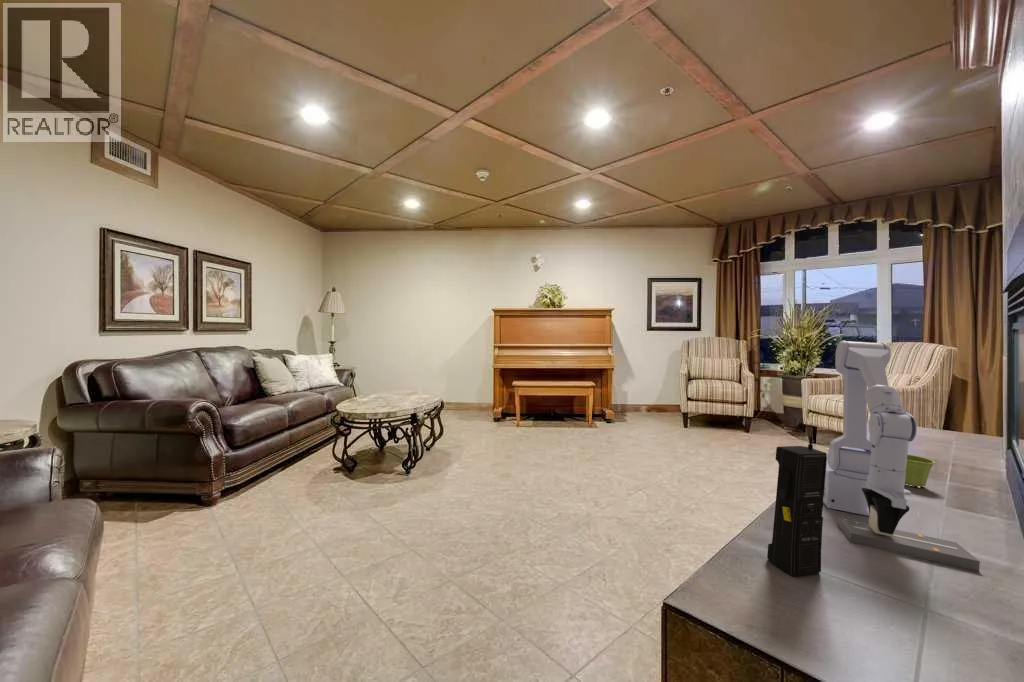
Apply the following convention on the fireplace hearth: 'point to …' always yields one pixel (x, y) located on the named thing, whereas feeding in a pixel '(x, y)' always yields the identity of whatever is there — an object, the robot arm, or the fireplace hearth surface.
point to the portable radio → (798, 510)
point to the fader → (875, 521)
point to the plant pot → (917, 470)
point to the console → (910, 544)
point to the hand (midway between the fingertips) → (881, 527)
